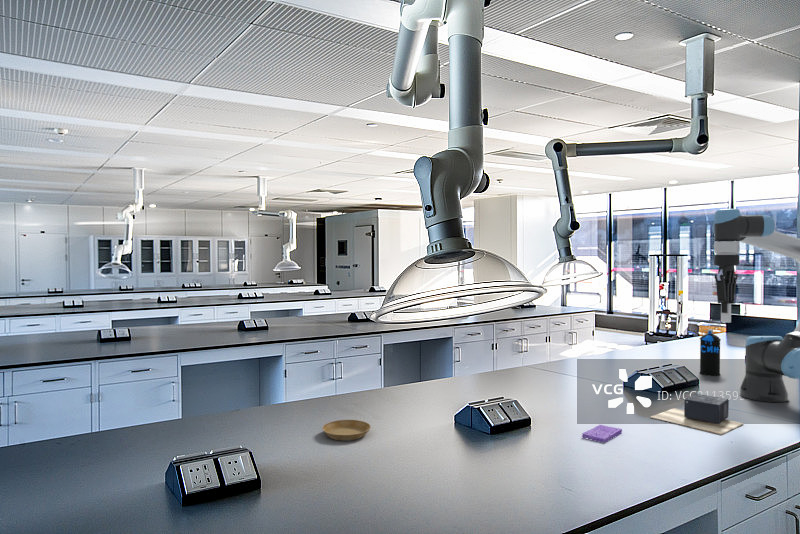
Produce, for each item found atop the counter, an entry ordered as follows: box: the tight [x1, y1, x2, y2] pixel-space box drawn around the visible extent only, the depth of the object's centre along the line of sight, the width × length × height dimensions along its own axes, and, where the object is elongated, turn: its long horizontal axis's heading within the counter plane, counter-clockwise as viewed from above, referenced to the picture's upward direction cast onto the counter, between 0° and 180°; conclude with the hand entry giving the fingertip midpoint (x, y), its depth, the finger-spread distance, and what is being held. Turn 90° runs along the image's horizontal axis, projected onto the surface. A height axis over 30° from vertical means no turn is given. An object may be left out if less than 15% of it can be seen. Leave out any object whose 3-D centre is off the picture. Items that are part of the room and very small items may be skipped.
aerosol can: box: [699, 328, 722, 377], centre depth 247 cm, size 8×8×20 cm
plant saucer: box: [321, 419, 371, 441], centre depth 170 cm, size 15×15×3 cm
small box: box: [683, 393, 730, 424], centre depth 182 cm, size 11×6×10 cm
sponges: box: [581, 424, 623, 443], centre depth 167 cm, size 7×13×2 cm, turn 136°
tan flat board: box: [649, 407, 744, 436], centre depth 180 cm, size 16×22×1 cm
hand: (725, 322), depth 192 cm, fingers closed
